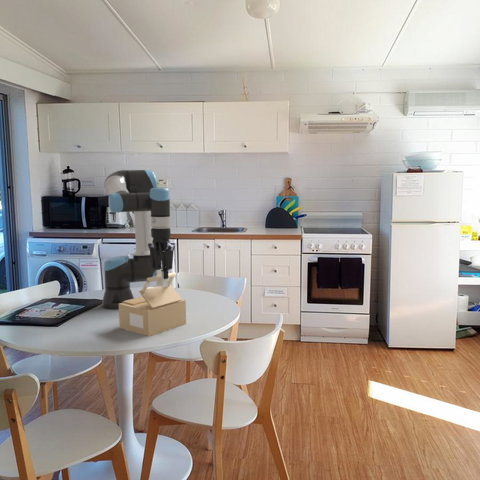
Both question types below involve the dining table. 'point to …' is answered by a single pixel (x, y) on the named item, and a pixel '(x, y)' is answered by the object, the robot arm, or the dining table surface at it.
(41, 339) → the dining table surface
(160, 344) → the dining table surface
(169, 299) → the flap
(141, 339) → the dining table surface
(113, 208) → the robot arm
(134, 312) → the carton
